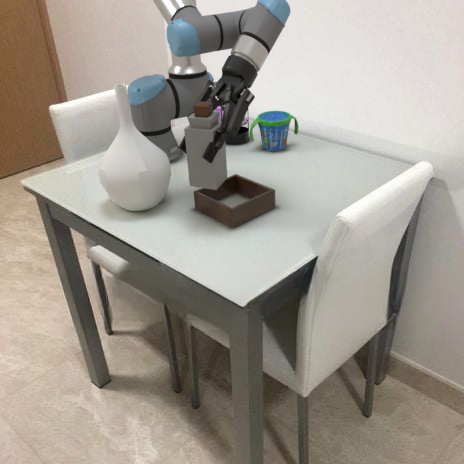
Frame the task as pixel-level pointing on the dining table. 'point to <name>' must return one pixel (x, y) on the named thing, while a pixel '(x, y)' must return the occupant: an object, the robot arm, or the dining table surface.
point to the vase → (133, 164)
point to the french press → (242, 134)
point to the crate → (235, 216)
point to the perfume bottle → (204, 148)
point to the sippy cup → (274, 129)
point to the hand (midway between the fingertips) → (194, 155)
